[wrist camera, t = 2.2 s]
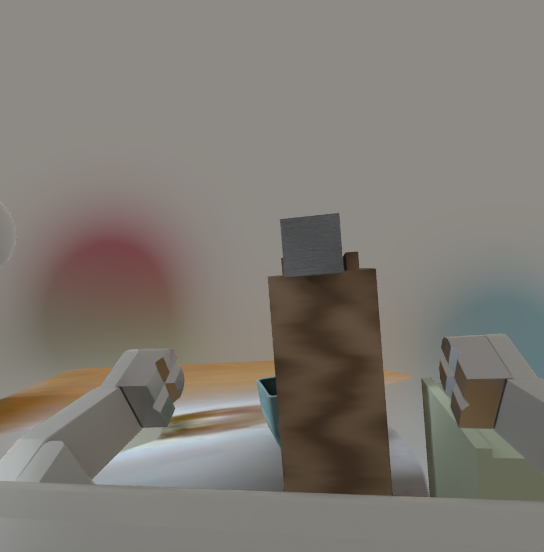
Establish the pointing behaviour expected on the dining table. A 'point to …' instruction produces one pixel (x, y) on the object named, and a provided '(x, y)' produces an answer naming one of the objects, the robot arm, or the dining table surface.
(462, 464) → the low sage block
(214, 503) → the robot arm
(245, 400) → the dining table surface
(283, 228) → the steel bar
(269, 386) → the flower pot
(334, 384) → the tall walnut block
